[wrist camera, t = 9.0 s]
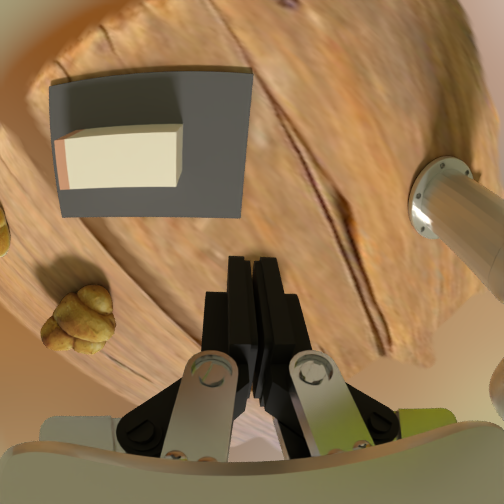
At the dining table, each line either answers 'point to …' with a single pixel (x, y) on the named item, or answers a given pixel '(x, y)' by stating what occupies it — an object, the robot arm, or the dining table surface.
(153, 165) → the cream block
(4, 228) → the bread roll
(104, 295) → the bread roll
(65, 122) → the rubber mat
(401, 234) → the dining table surface
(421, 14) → the dining table surface
